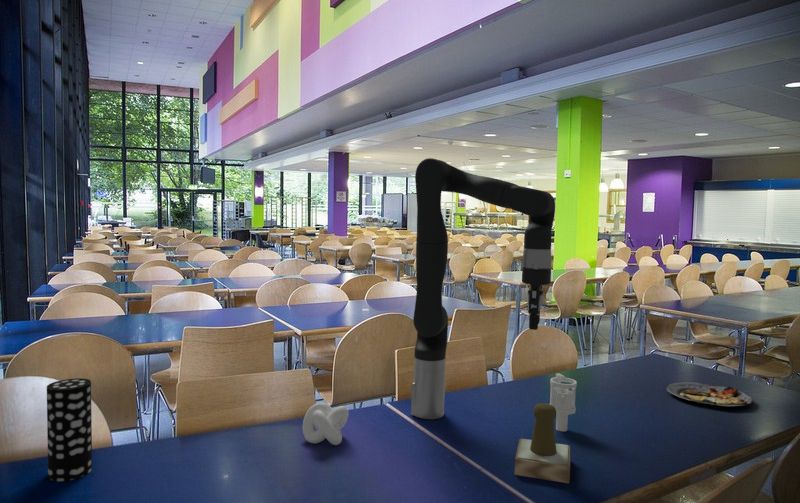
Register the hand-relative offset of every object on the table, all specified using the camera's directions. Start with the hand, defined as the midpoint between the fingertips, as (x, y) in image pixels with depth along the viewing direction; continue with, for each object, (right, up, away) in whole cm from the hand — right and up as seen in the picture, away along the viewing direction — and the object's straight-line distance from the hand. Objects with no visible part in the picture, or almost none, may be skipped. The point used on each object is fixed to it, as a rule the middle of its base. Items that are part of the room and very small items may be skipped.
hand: (534, 326), depth 142 cm
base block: (-2, -31, -17) cm, 35 cm away
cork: (-2, -27, -17) cm, 32 cm away
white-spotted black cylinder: (-109, -29, -24) cm, 116 cm away
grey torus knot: (-55, -29, -3) cm, 62 cm away
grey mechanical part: (+9, -30, +7) cm, 32 cm away
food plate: (+68, -30, +37) cm, 83 cm away
